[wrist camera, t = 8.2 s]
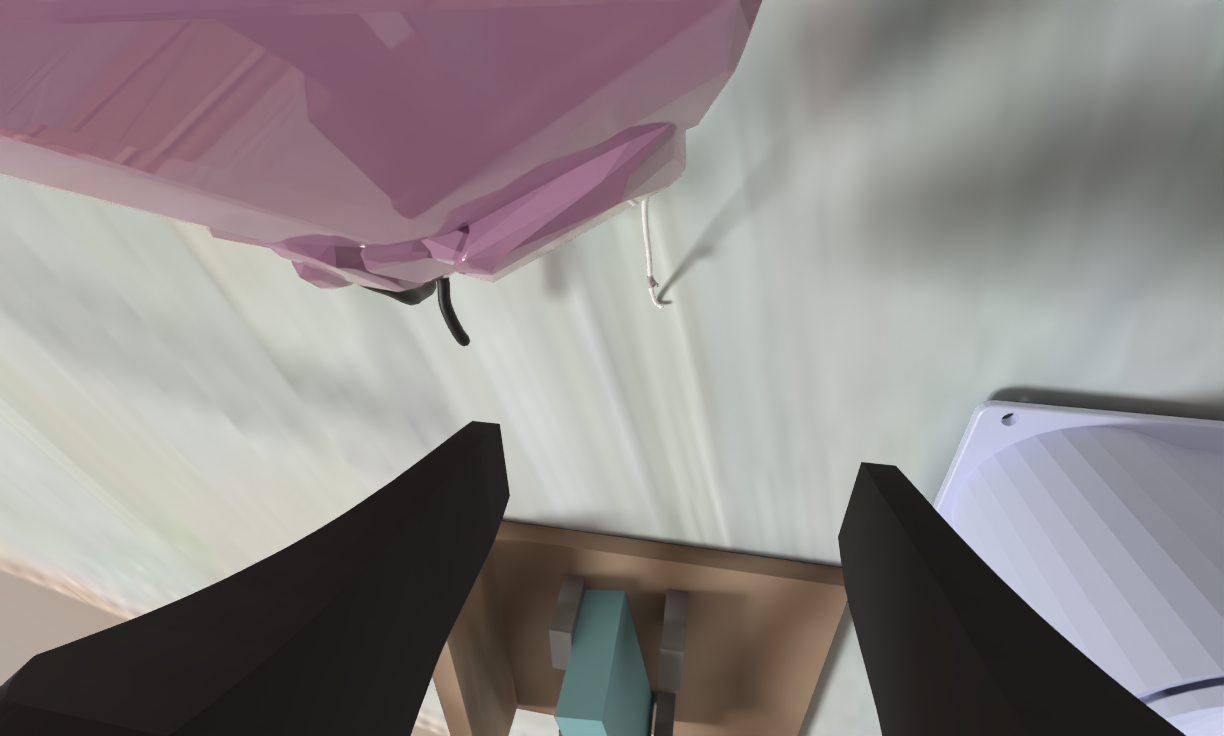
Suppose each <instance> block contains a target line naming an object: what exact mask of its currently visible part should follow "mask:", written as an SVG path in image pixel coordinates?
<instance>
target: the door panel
mask: <svg viewBox="0 0 1224 736" xmlns="http://www.w3.org/2000/svg"><path fill="white" fill-rule="evenodd" d="M653 712H654V701H653V697H652V693H651V689H650V685H649V681H648V678H647V674H646V670H645V666H644V662H643V659H642V655H641V651H640V647H639V643H638V639H637V636H636V632H635V628H634V624H633V620H632V617H631V613H630V609H629V605H628V601H627V597H626V594H625V591H615V590H586V591H585V595H584V599H583V603H582V607H581V611H580V615H579V619H578V623H577V627H576V631H575V635H574V639H573V643H572V647H571V651H570V655H569V659H568V664H567V668H566V672H565V676H564V680H563V684H562V688H561V692H560V696H559V700H558V704H557V708H556V712H555V716H554V717H555V720H556V722H557V724H558V726H559V729H560V731H561V733H562V736H651V731H652V721H653Z"/></svg>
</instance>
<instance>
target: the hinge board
mask: <svg viewBox="0 0 1224 736" xmlns="http://www.w3.org/2000/svg"><path fill="white" fill-rule="evenodd" d="M586 590H615V591H625V594H626V597H627V601H628V605H629V609H630V613H631V617H632V620H633V624H634V628H635V632H636V636H637V639H638V643H639V647H640V651H641V655H642V659H643V662H644V666H645V670H646V674H647V678H648V681H649V685H650V689H651V693H652V697H653V701H654V712H653V721H652V731H651V734H653V735H654V736H798V733H799V731H800V728H801V725H802V722H803V720H804V717H805V714H806V712H807V709H808V706H809V703H810V701H811V698H812V695H813V692H814V690H815V687H816V684H817V682H818V679H819V676H820V673H821V671H822V668H823V665H824V662H825V660H826V657H827V654H828V652H829V649H830V646H831V643H832V641H833V638H834V635H835V632H836V630H837V627H838V624H839V621H840V619H841V616H842V613H843V611H844V608H845V605H846V602H847V600H848V599H847V595H846V591H845V586H844V579H843V572H842V568H839V567H832V566H825V565H817V564H810V563H803V562H796V561H789V560H781V559H774V558H767V557H760V556H753V555H745V554H738V553H731V552H724V551H717V550H710V549H702V548H695V547H688V546H681V545H674V544H666V543H659V542H652V541H645V540H638V539H630V538H623V537H616V536H609V535H602V534H594V533H587V532H580V531H573V530H566V529H559V528H551V527H544V526H537V525H530V524H523V523H515V522H508V521H501V524H500V527H499V530H498V533H497V536H496V538H495V541H494V543H493V545H492V547H491V549H490V552H489V554H488V556H487V558H486V560H485V562H484V564H483V566H482V568H481V570H480V572H479V575H478V577H477V579H476V581H475V583H474V585H473V587H472V589H471V591H470V593H469V595H468V597H467V599H466V601H465V603H464V605H463V607H462V610H461V612H460V614H459V616H458V618H457V620H456V622H455V624H454V626H453V628H452V630H451V632H450V634H449V636H448V639H447V641H446V643H445V645H444V648H443V650H442V652H441V655H440V657H439V659H438V662H437V664H436V667H435V670H434V672H433V675H432V677H433V680H434V684H435V687H436V690H437V693H438V696H439V700H440V703H441V706H442V709H443V713H444V716H445V719H446V722H447V726H448V729H449V732H450V735H451V736H508V735H509V732H510V728H511V725H512V722H513V719H514V715H515V712H516V709H523V710H528V711H533V712H538V713H544V714H549V715H554V716H555V712H556V708H557V704H558V700H559V696H560V692H561V688H562V684H563V680H564V676H565V672H566V668H567V664H568V659H569V655H570V651H571V647H572V643H573V639H574V635H575V631H576V627H577V623H578V619H579V615H580V611H581V607H582V603H583V599H584V595H585V591H586ZM559 736H562V733H561V731H560V729H559Z"/></svg>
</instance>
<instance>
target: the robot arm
mask: <svg viewBox="0 0 1224 736" xmlns="http://www.w3.org/2000/svg"><path fill="white" fill-rule="evenodd" d="M1010 413H1014V414H1013V415H1012V416H1011V417H1009V418H1007V419H1002V418H1003V417H1004V416H1005V415H1007V414H1010ZM509 496H510V494H509V487H508V480H507V473H506V465H505V458H504V451H503V444H502V437H501V430H500V424H495V423H486V422H476V421H472V422H470V423H469V424H467V425H466V426H465V427H463V428H462V429H461V430H459V431H458V432H457V433H455V434H454V435H453V436H451V437H450V438H449V439H447V440H446V441H445V442H444V443H442V444H441V445H440V446H438V447H437V448H436V449H434V450H433V451H432V452H431V453H429V454H428V455H427V456H425V457H424V458H423V459H421V460H420V461H419V462H417V463H416V464H415V465H413V466H412V467H410V468H409V469H408V470H406V471H405V472H404V473H402V474H401V475H400V476H398V477H397V478H396V479H394V480H393V481H391V482H390V483H389V484H387V485H386V486H384V487H383V488H381V489H380V490H378V491H377V492H375V493H374V494H372V495H371V496H369V497H368V498H367V499H365V500H364V501H362V502H361V503H359V504H358V505H356V506H355V507H353V508H352V509H350V510H349V511H347V512H346V513H344V514H343V515H341V516H340V517H338V518H336V519H335V520H333V521H331V522H330V523H328V524H327V525H325V526H323V527H322V528H320V529H318V530H316V531H315V532H313V533H311V534H310V535H308V536H306V537H304V538H303V539H301V540H299V541H297V542H296V543H294V544H292V545H290V546H288V547H287V548H285V549H283V550H281V551H279V552H277V553H275V554H273V555H271V556H269V557H267V558H265V559H263V560H261V561H259V562H257V563H255V564H254V565H252V566H250V567H248V568H246V569H244V570H242V571H240V572H238V573H236V574H234V575H232V576H230V577H228V578H226V579H224V580H222V581H220V582H217V583H215V584H213V585H211V586H209V587H206V588H204V589H202V590H200V591H198V592H195V593H193V594H191V595H189V596H187V597H184V598H182V599H180V600H177V601H175V602H173V603H170V604H168V605H165V606H163V607H161V608H158V609H156V610H154V611H151V612H149V613H147V614H144V615H142V616H139V617H137V618H134V619H132V620H129V621H127V622H124V623H121V624H119V625H116V626H113V627H111V628H108V629H105V630H103V631H100V632H98V633H95V634H92V635H89V636H87V637H84V638H81V639H79V640H76V641H74V642H71V643H68V644H65V645H63V646H60V647H57V648H55V649H52V650H49V651H46V652H43V653H41V654H38V655H36V656H34V657H33V658H32V659H30V660H29V661H28V662H27V663H26V664H25V665H24V666H23V667H22V668H21V669H19V671H17V672H16V673H15V674H14V675H13V676H12V677H11V678H10V679H8V680H7V681H6V682H5V683H4V684H3V685H2V686H0V736H411V733H412V730H413V727H414V724H415V721H416V719H417V716H418V713H419V710H420V707H421V705H422V702H423V699H424V697H425V694H426V691H427V689H428V686H429V683H430V680H431V678H432V675H433V672H434V670H435V667H436V664H437V662H438V659H439V657H440V655H441V652H442V650H443V648H444V645H445V643H446V641H447V639H448V636H449V634H450V632H451V630H452V628H453V626H454V624H455V622H456V620H457V618H458V616H459V614H460V612H461V610H462V607H463V605H464V603H465V601H466V599H467V597H468V595H469V593H470V591H471V589H472V587H473V585H474V583H475V581H476V579H477V577H478V575H479V572H480V570H481V568H482V566H483V564H484V562H485V560H486V558H487V556H488V554H489V552H490V549H491V547H492V545H493V543H494V541H495V538H496V536H497V533H498V530H499V527H500V524H501V521H502V518H503V515H504V512H505V509H506V506H507V503H508V500H509ZM838 540H839V548H840V557H841V565H842V572H843V579H844V586H845V591H846V595H847V599H848V603H849V607H850V610H851V614H852V618H853V622H854V626H855V630H856V634H857V637H858V641H859V645H860V649H861V652H862V656H863V660H864V664H865V667H866V671H867V675H868V679H869V682H870V686H871V690H872V694H873V698H874V701H875V705H876V709H877V713H878V718H879V722H880V727H881V731H882V736H1224V421H1216V420H1205V419H1194V418H1183V417H1172V416H1162V415H1151V414H1140V413H1129V412H1118V411H1107V410H1096V409H1085V408H1075V407H1064V406H1053V405H1042V404H1031V403H1020V402H1009V401H998V400H990V401H986V402H983V403H981V404H980V405H978V406H977V407H976V409H975V410H974V412H973V415H972V417H971V419H970V422H969V424H968V426H967V428H966V431H965V433H964V435H963V438H962V440H961V442H960V445H959V447H958V449H957V451H956V454H955V456H954V458H953V461H952V463H951V465H950V468H949V470H948V472H947V474H946V477H945V479H944V481H943V484H942V486H941V488H940V491H939V493H938V495H937V497H936V500H935V502H934V504H933V506H932V505H931V504H930V503H929V502H928V501H927V500H926V499H925V497H924V496H923V495H922V494H921V493H920V492H919V491H918V490H917V488H916V487H915V486H914V485H913V484H912V483H911V482H910V481H909V480H908V478H907V477H906V476H905V475H904V474H903V473H902V472H901V471H900V470H899V469H898V468H897V467H896V466H893V465H883V464H874V463H864V462H861V465H860V468H859V472H858V475H857V478H856V481H855V485H854V488H853V491H852V494H851V497H850V501H849V504H848V507H847V510H846V513H845V517H844V520H843V523H842V526H841V529H840V533H839V536H838Z"/></svg>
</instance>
